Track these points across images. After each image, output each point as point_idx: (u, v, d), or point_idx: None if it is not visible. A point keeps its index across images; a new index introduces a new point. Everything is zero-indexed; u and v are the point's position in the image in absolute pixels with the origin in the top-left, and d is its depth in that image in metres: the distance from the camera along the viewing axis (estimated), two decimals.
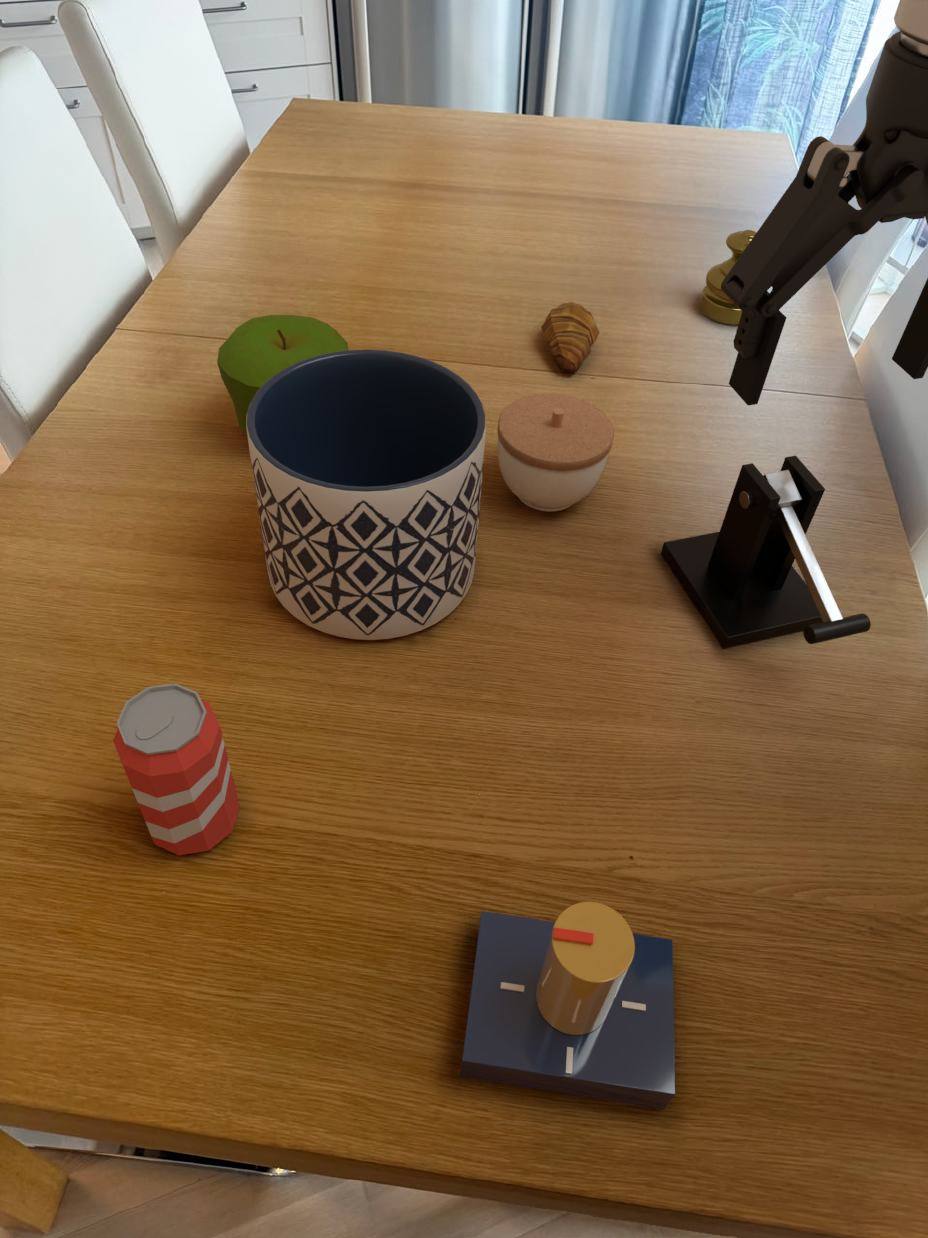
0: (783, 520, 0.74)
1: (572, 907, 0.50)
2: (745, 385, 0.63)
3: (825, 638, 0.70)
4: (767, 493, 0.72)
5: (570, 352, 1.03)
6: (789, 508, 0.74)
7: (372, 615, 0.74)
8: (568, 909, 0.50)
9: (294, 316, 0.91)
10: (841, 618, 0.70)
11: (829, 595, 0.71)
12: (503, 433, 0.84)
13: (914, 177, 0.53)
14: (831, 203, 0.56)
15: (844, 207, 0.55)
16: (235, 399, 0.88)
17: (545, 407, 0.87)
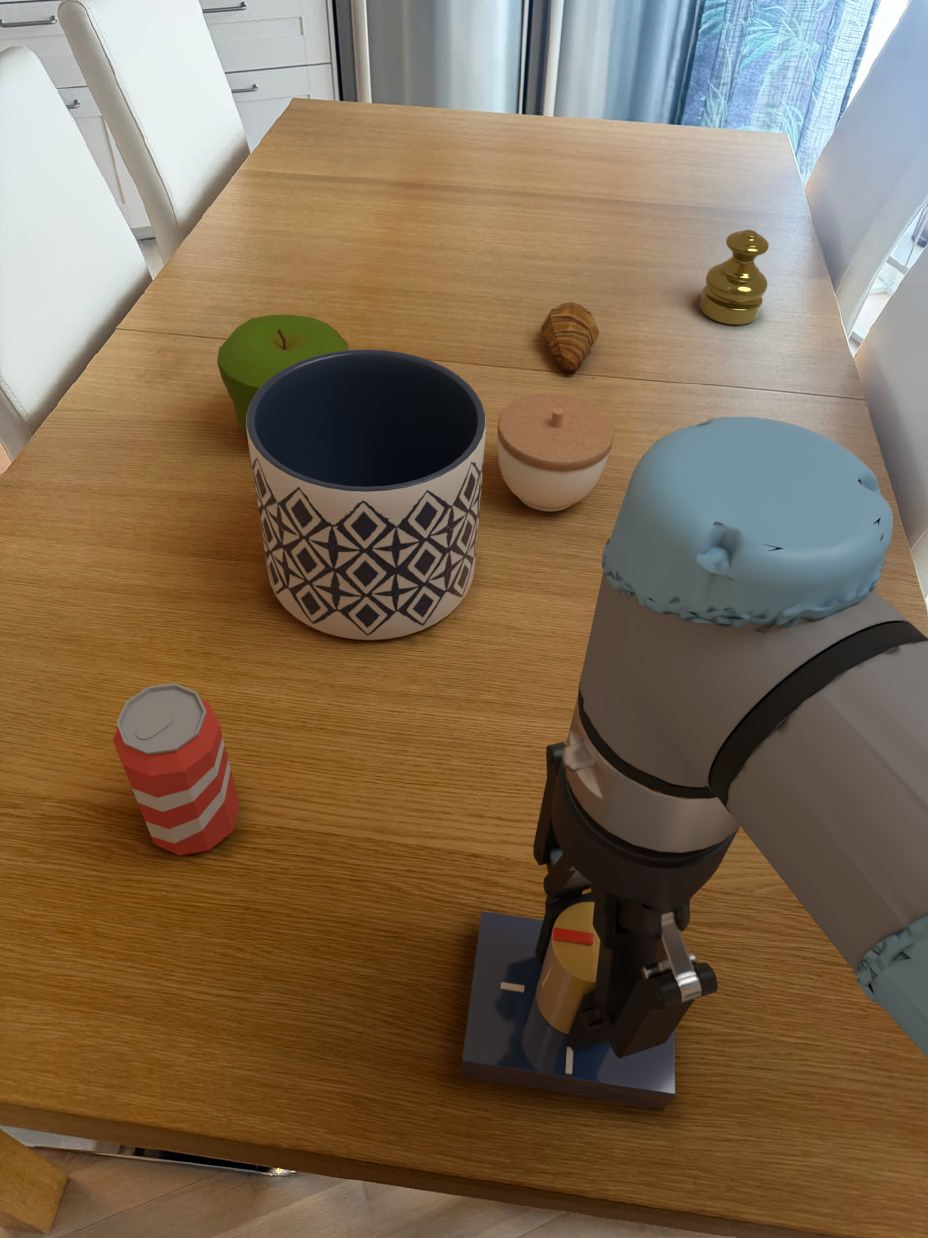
0: None
1: (572, 907, 0.50)
2: None
3: None
4: None
5: (570, 352, 1.03)
6: None
7: (372, 615, 0.74)
8: (568, 909, 0.50)
9: (294, 316, 0.91)
10: None
11: None
12: (503, 433, 0.84)
13: None
14: (618, 944, 0.42)
15: (639, 934, 0.42)
16: (235, 399, 0.88)
17: (545, 407, 0.87)
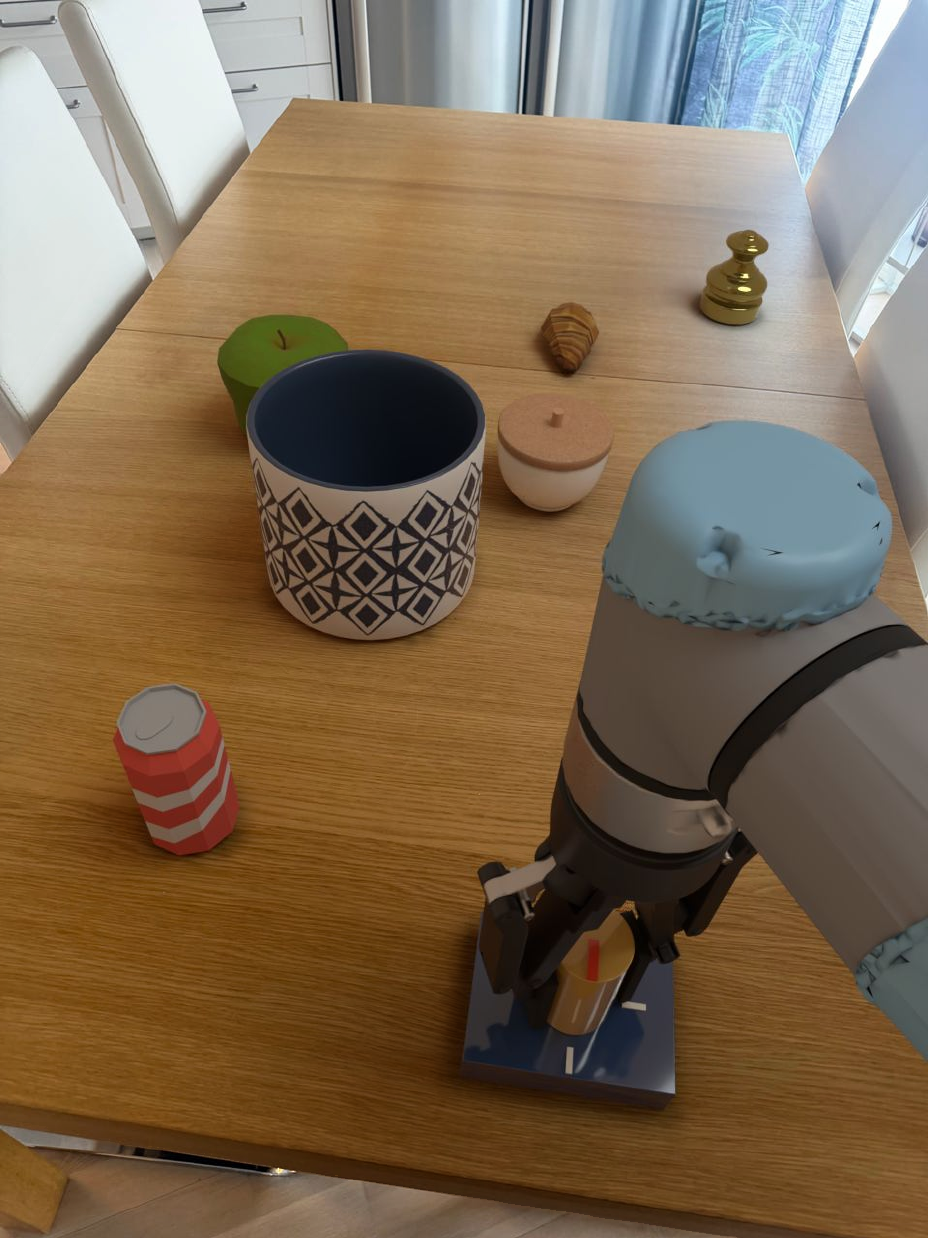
0: None
1: None
2: None
3: None
4: None
5: (570, 352, 1.03)
6: None
7: (372, 615, 0.74)
8: (562, 962, 0.48)
9: (294, 316, 0.91)
10: None
11: None
12: (503, 433, 0.84)
13: None
14: None
15: None
16: (235, 399, 0.88)
17: (545, 407, 0.87)
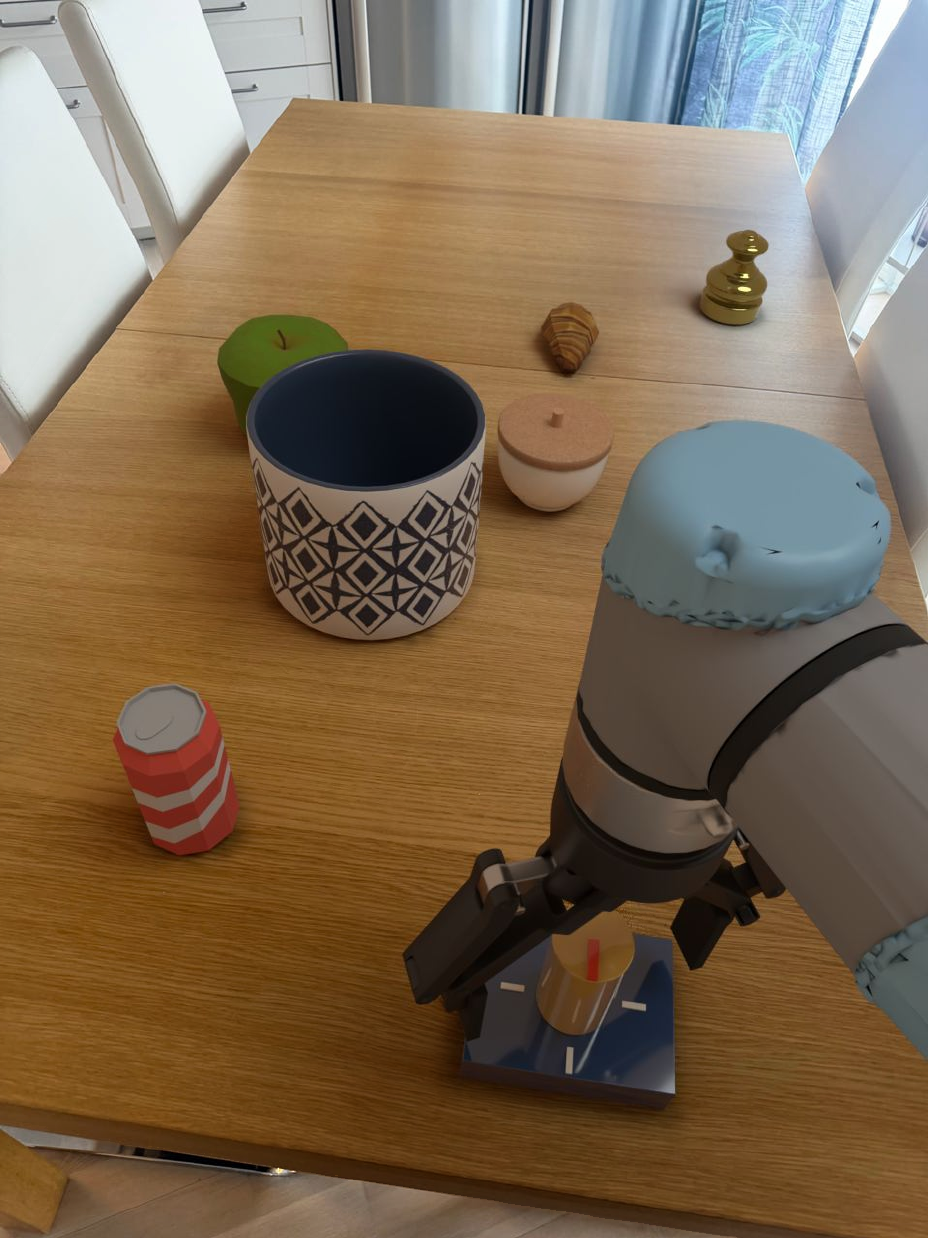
0: None
1: (560, 958, 0.48)
2: None
3: None
4: None
5: (570, 352, 1.03)
6: None
7: (372, 615, 0.74)
8: (562, 962, 0.48)
9: (294, 316, 0.91)
10: None
11: None
12: (503, 433, 0.84)
13: None
14: None
15: None
16: (235, 399, 0.88)
17: (545, 407, 0.87)
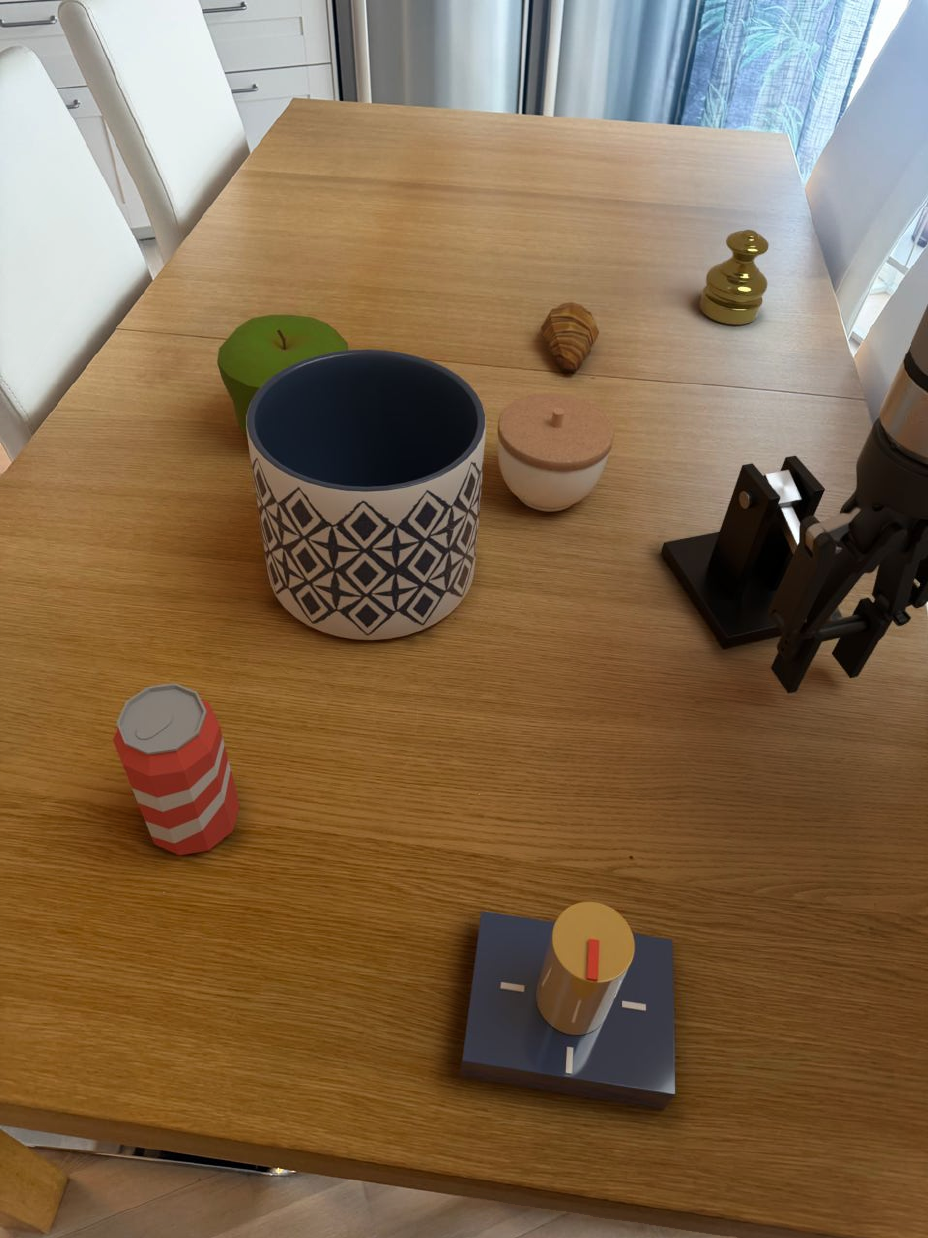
0: (783, 520, 0.74)
1: (560, 958, 0.48)
2: None
3: (825, 638, 0.70)
4: (767, 493, 0.72)
5: (570, 352, 1.03)
6: (789, 508, 0.74)
7: (372, 615, 0.74)
8: (562, 962, 0.48)
9: (294, 316, 0.91)
10: (841, 618, 0.70)
11: None
12: (503, 433, 0.84)
13: None
14: None
15: None
16: (235, 399, 0.88)
17: (545, 407, 0.87)
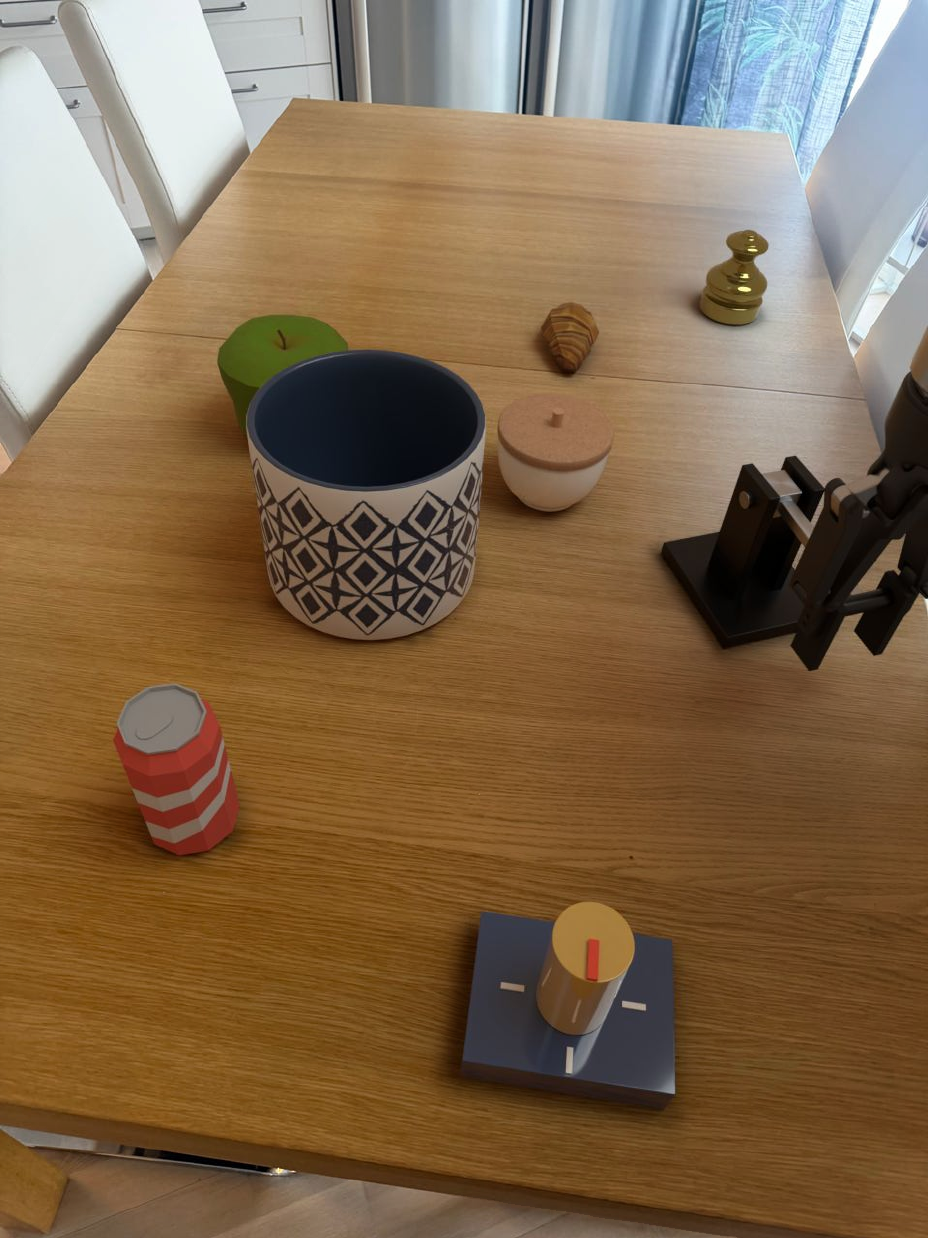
0: (786, 514, 0.73)
1: (560, 958, 0.48)
2: None
3: (848, 610, 0.67)
4: (767, 493, 0.72)
5: (570, 352, 1.03)
6: (791, 503, 0.73)
7: (372, 615, 0.74)
8: (562, 962, 0.48)
9: (294, 316, 0.91)
10: (861, 592, 0.68)
11: None
12: (503, 433, 0.84)
13: None
14: None
15: None
16: (235, 399, 0.88)
17: (545, 407, 0.87)
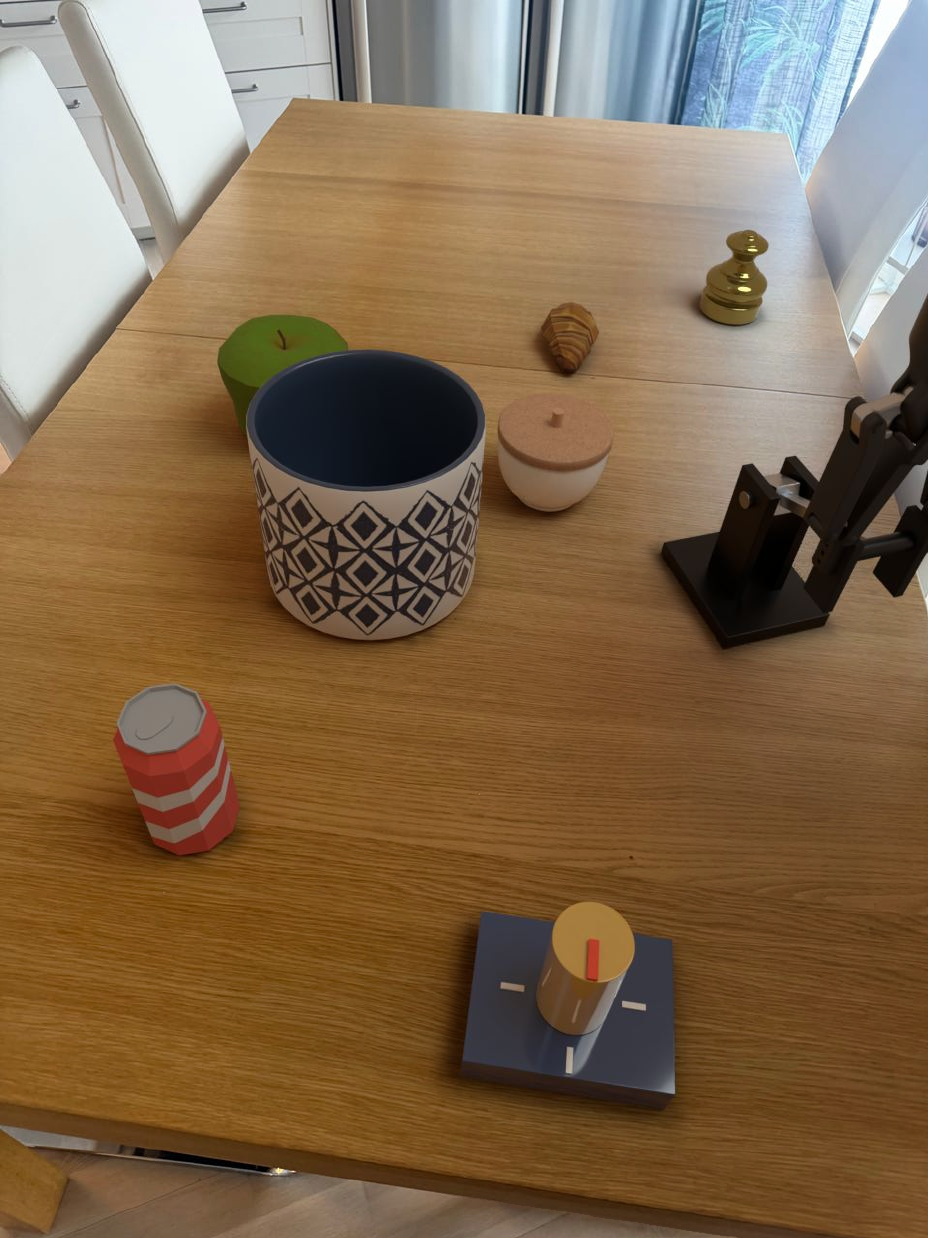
0: (789, 502, 0.72)
1: (560, 958, 0.48)
2: None
3: (867, 549, 0.63)
4: (767, 493, 0.72)
5: (570, 352, 1.03)
6: (792, 494, 0.73)
7: (372, 615, 0.74)
8: (562, 962, 0.48)
9: (294, 316, 0.91)
10: (878, 535, 0.65)
11: None
12: (503, 433, 0.84)
13: None
14: None
15: None
16: (235, 399, 0.88)
17: (545, 407, 0.87)
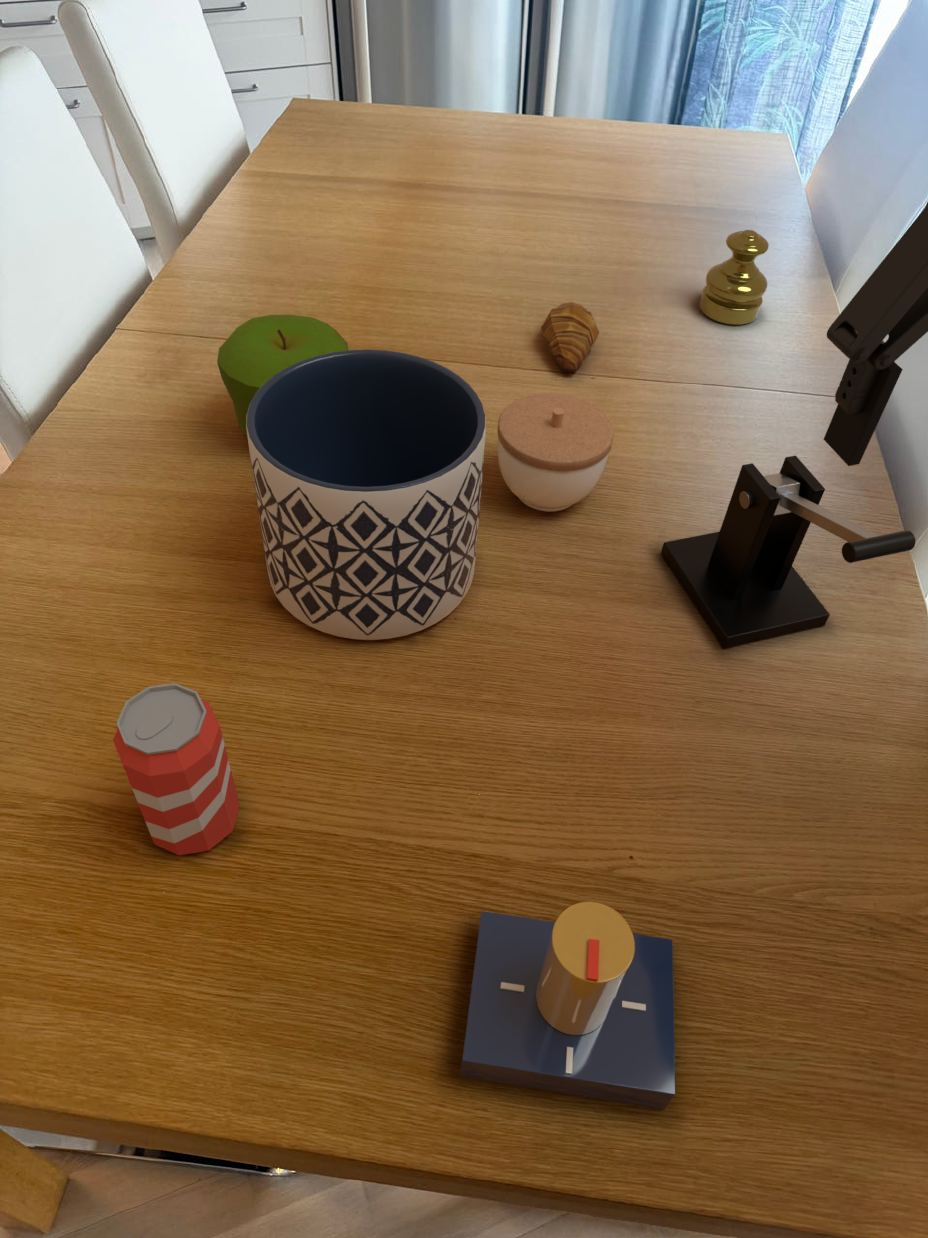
0: (789, 502, 0.72)
1: (560, 958, 0.48)
2: None
3: (867, 549, 0.63)
4: (767, 493, 0.72)
5: (570, 352, 1.03)
6: (792, 494, 0.73)
7: (372, 615, 0.74)
8: (562, 962, 0.48)
9: (294, 316, 0.91)
10: (878, 535, 0.65)
11: (857, 526, 0.67)
12: (503, 433, 0.84)
13: None
14: None
15: None
16: (235, 399, 0.88)
17: (545, 407, 0.87)
